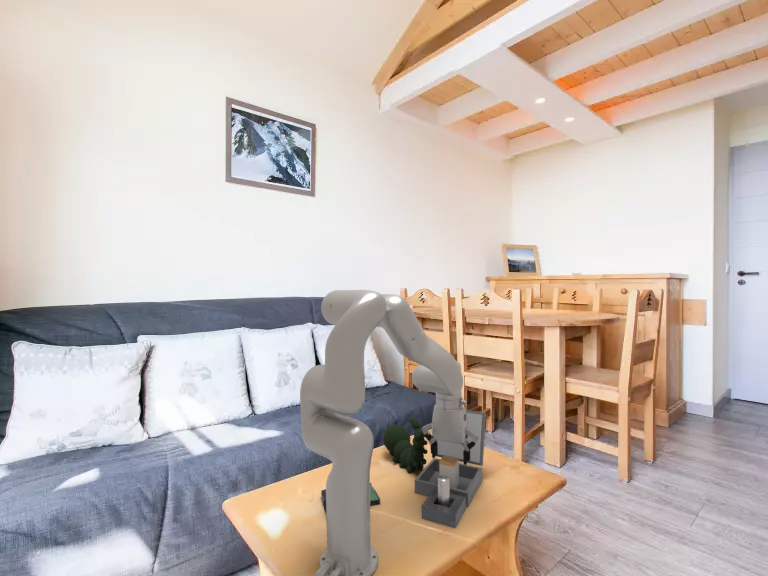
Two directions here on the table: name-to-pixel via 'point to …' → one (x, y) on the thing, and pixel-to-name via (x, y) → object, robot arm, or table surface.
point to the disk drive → (373, 497)
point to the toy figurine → (406, 445)
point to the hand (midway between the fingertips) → (450, 459)
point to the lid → (477, 452)
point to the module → (450, 469)
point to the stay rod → (444, 491)
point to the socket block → (444, 509)
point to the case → (467, 487)
